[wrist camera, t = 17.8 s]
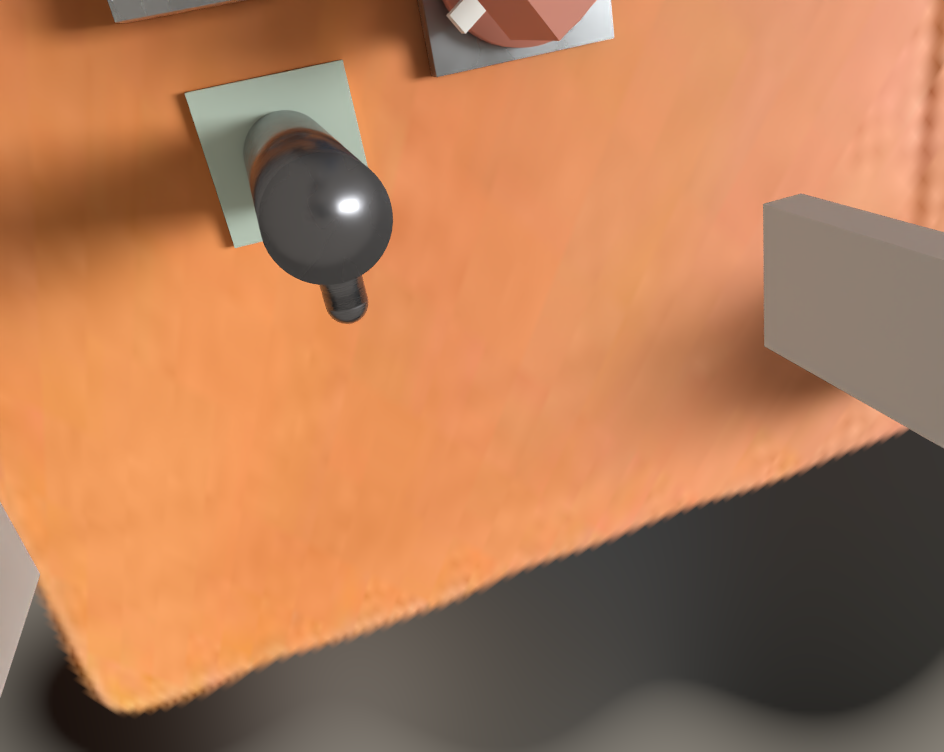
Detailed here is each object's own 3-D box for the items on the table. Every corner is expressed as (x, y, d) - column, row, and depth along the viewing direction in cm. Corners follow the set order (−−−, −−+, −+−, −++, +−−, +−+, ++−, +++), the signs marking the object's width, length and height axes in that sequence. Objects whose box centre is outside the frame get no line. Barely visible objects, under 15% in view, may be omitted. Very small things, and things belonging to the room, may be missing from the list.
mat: (184, 92, 34) (184, 93, 33) (341, 59, 35) (342, 60, 35) (234, 245, 37) (235, 248, 36) (376, 210, 38) (378, 212, 38)
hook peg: (231, 120, 34) (240, 170, 22) (319, 101, 35) (376, 138, 23) (268, 243, 37) (295, 348, 25) (350, 223, 38) (416, 315, 25)
